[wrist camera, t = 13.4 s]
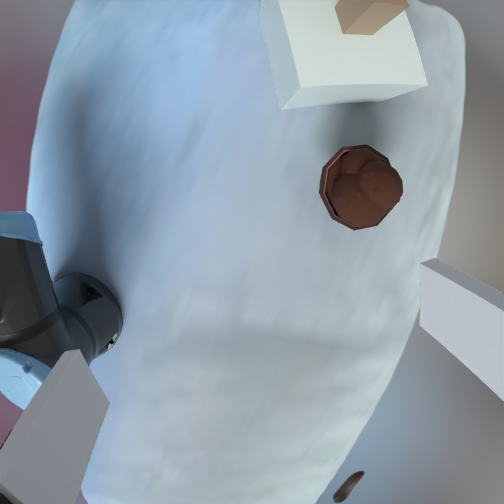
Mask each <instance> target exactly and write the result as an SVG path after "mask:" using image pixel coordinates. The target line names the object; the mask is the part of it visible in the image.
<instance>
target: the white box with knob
mask: <svg viewBox="0 0 504 504" xmlns="http://www.w3.org/2000/svg"><path fill="white" fill-rule="evenodd" d="M408 7H409V6H408V3H407V1H406V0H261V4H260V8H259V13H258V16H259V20H260V24H261V28H262V32H263V36H264V40H265V44H266V48H267V53H268V57H269V61H270V66H271V70H272V75H273V79H274V84H275V88H276V93H277V98H278V102H279V107H280V110H282V109H290V108H299V107H308V106H318V105H329V104H342V103H359V102H382V101H384V100H387V99H390V98H393V97H395V96H398V95H401V94H404V93H407V92H410V91H413V90H416V89H419V88H422V87H425V86H428V84H427V80H426V76H425V72H424V69H423V65H422V61H421V58H420V54H419V51H418V48H417V44H416V41H415V38H414V35H413V32H412V29H411V26H410V23H409V21H408V18H407V15H406V12H405V10H406V9H407V8H408Z"/></svg>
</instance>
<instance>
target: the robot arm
mask: <svg viewBox="0 0 504 504" xmlns="http://www.w3.org/2000/svg"><path fill="white" fill-rule="evenodd" d="M42 246H43V243H42V241H41V240H40V237H39V234H38V230H37V226H36V222H35V220H34V218H33V216H32V215H31V214H29V213H27V212H24V211H13V212H4V213H0V391H1V392H2V393H3V394H4V395H5V396H6V397H7V398H8V399H9V400H10V401H11V402H13V403H14V404H15V405H17V406H19V407H21V408H22V409H23V410H24V412H23V414H22V415H21V417H20V419H19V420H18V422H17V423H16V425H15V426H14V428H13V429H12V430H11V431H10V433H9V434H8V436H7V438H6V439H5V441H4V442H5V443H4V444H2V446H1V448H0V504H76V500H77V497H78V494H79V491H80V487H81V484H82V481H83V478H84V475H85V472H86V469H87V466H88V463H89V460H90V457H91V454H92V451H93V448H94V445H95V442H96V439H97V437H98V434H99V431H100V428H101V426H102V423H103V420H104V418H105V415H106V412H107V410H108V407H109V404H110V402H109V401H108V399H107V397H106V396H105V394H104V393H103V391H102V389H101V387H100V386H99V384H98V382H97V381H96V379H95V377H94V375H93V374H92V372H91V370H90V368H89V366H90V364H91V362H92V360H93V359H95V358H97V357H98V356H100V355H102V354H104V353H105V352H107V351H108V350H110V349H111V348H112V347H113V345H114V344H115V343H116V341H117V339H118V337H119V336H120V333H121V330H122V314H121V310H120V307H119V305H118V303H117V301H116V299H115V297H114V296H113V294H112V293H111V292H110V291H109V290H108V288H107V287H106V286H104V285H103V284H102V283H101V282H99V281H98V280H96V279H95V278H93V277H90V276H88V275H84V274H78V273H74V274H68V275H65V276H63V277H62V278H60V279H59V280H58V281H56V282H55V283H54V284H52V280H51V277H50V274H49V270H48V267H47V263H46V260H45V256H44V252H43V248H42ZM420 326H421V327H423V328H424V329H425V330H426V331H427V332H428V333H429V334H431V335H432V336H433V337H434V338H435V339H436V340H438V341H439V342H440V343H441V344H442V345H443V346H444V347H445V348H447V349H448V350H449V351H450V352H451V353H452V354H453V355H455V356H456V357H457V358H458V359H459V360H460V361H461V362H462V363H463V364H465V365H466V366H467V367H468V368H469V369H470V370H471V371H472V372H473V373H474V374H475V375H477V376H478V377H479V378H480V379H481V380H482V381H483V382H484V383H485V384H486V385H487V386H488V387H489V388H490V389H492V390H493V391H494V392H495V393H496V394H497V395H498V396H499V397H500V398H501V399H502V400H503V401H504V293H501V292H499V291H498V290H496V289H494V288H492V287H491V286H489V285H487V284H485V283H483V282H481V281H479V280H477V279H475V278H473V277H471V276H470V275H468V274H466V273H464V272H462V271H460V270H458V269H455V268H454V267H452V266H450V265H448V264H446V263H444V262H442V261H440V260H438V259H435V258H434V259H431V260H428V261H425V262H422V263H420Z"/></svg>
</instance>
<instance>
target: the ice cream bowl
mask: <svg viewBox="0 0 504 504" xmlns="http://www.w3.org/2000/svg"><path fill="white" fill-rule="evenodd" d="M319 194H320V196H321V198H322V200H323V202H324V204H325V206H326V208H327V210H328V212H329V215H330V216H331V218H332V219H333V220H335V221H337V222H339V223H341V224H343V225H345V226H347V227H349V228H350V229H352V230H359V229H364V228H368V227H373V226H378V224H379V223H380V222H381V221H382V220H383V219H384V218H385V217H386V215H387V214H388V213H389V212H390V211H391V210H392V209H393V207H394V206H395V205H396V204H397V203H398V202H399V201H400V197H401V196H402V194H403V184H402V179H401V178H400V176H399V174H398V172H397V171H396V169H394V168H393V167H391V165H390V162H389V160H388V158H387V157H385V156H384V155H382V154H381V153H379V152H378V151H376V150H374V149H373V148H371V147H370V146H368V145H359V146H351V147H342V148H341V149H340V150H339V151H338V152H337V153H336V154H335V155H334V156H333V157H332V158H331V159H330V160H329V161H328V162H327V163H326V165H325V166H324V167H323V168H322V175H321V180H320V190H319Z"/></svg>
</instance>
